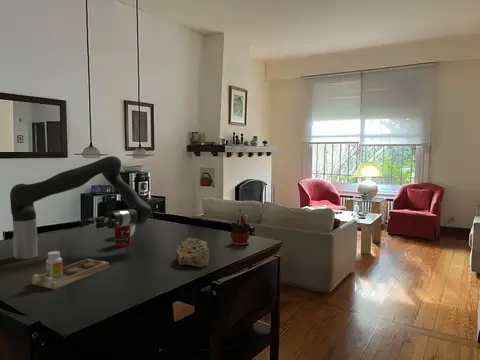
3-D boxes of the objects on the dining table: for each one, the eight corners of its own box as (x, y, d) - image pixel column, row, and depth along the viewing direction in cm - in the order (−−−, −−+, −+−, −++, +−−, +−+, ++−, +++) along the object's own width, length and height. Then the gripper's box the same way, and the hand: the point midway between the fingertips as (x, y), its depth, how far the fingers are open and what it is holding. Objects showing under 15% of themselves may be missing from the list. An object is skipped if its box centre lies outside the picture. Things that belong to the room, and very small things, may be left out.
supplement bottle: (65, 275, 143) (64, 250, 142) (59, 280, 138) (57, 254, 137) (50, 275, 143) (49, 250, 142) (44, 280, 138) (42, 254, 137)
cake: (226, 244, 194) (226, 209, 193) (235, 240, 203) (235, 207, 201) (245, 247, 190) (245, 211, 188) (253, 242, 198) (253, 208, 196)
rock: (214, 268, 159) (208, 247, 157) (180, 278, 158) (174, 256, 155) (209, 250, 179) (204, 230, 177) (179, 258, 177) (173, 239, 175)
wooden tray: (31, 284, 138) (31, 274, 138) (87, 264, 162) (87, 256, 162) (54, 289, 133) (54, 279, 133) (109, 267, 157) (108, 259, 156)
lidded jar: (138, 234, 216) (137, 218, 215) (131, 239, 205) (130, 222, 204) (120, 234, 217) (119, 218, 216) (112, 238, 206) (111, 221, 205)
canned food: (114, 247, 189) (114, 225, 188) (115, 243, 196) (114, 222, 195) (130, 246, 191) (130, 224, 190) (130, 242, 198) (130, 221, 197)
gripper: (105, 209, 173) (76, 214, 159) (129, 212, 167) (101, 217, 153) (105, 225, 174) (76, 232, 159) (129, 228, 168) (101, 235, 153)
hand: (88, 224), depth 156 cm, fingers open, 8 cm apart
